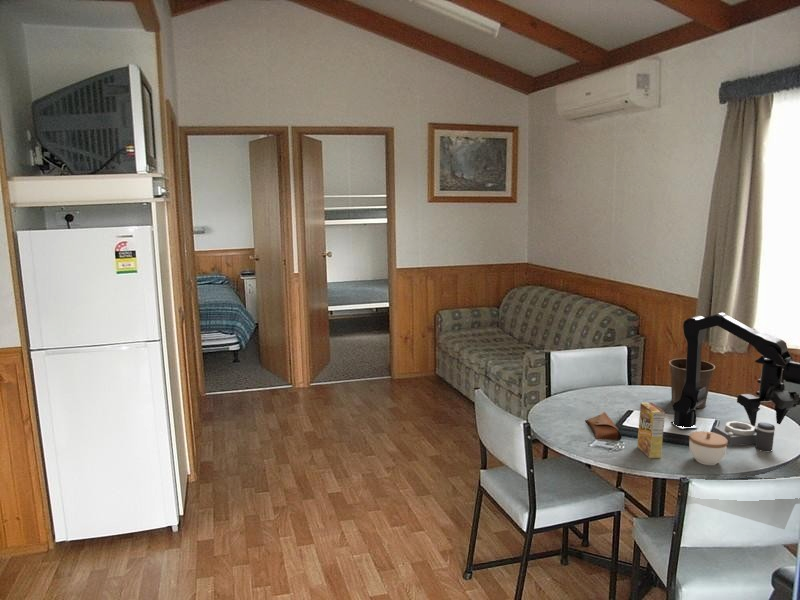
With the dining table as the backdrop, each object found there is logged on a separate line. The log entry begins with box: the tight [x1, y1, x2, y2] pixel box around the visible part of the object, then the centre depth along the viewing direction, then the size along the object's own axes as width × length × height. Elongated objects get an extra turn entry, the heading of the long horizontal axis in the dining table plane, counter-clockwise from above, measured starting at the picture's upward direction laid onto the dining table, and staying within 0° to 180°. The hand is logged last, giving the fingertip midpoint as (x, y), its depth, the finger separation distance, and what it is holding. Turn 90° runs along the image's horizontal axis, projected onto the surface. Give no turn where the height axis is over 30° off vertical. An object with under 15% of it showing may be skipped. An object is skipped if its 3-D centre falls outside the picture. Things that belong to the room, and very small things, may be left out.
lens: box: [755, 422, 776, 452], centre depth 207 cm, size 5×5×8 cm
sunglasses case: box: [584, 411, 622, 441], centre depth 224 cm, size 18×7×7 cm
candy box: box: [636, 402, 666, 459], centre depth 204 cm, size 9×4×15 cm, turn 6°
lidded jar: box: [688, 430, 729, 466], centre depth 198 cm, size 11×11×9 cm
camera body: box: [712, 420, 757, 447], centre depth 215 cm, size 13×9×4 cm
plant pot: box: [668, 357, 716, 409], centre depth 247 cm, size 16×16×16 cm
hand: (765, 424), depth 206 cm, fingers open, 9 cm apart
